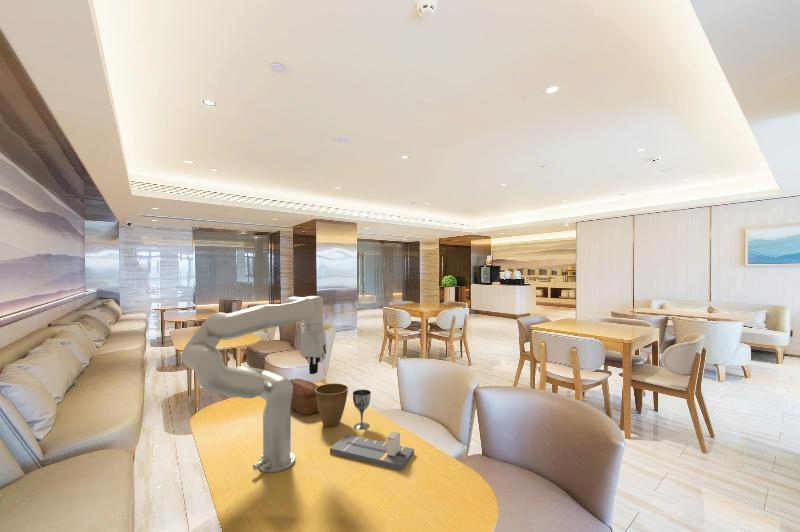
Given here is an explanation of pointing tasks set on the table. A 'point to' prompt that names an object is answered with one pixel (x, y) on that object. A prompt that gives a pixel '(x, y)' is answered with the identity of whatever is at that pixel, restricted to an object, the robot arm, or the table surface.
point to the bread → (304, 397)
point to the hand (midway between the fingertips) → (313, 373)
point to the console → (371, 452)
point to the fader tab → (393, 443)
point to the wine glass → (361, 406)
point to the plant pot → (331, 403)
